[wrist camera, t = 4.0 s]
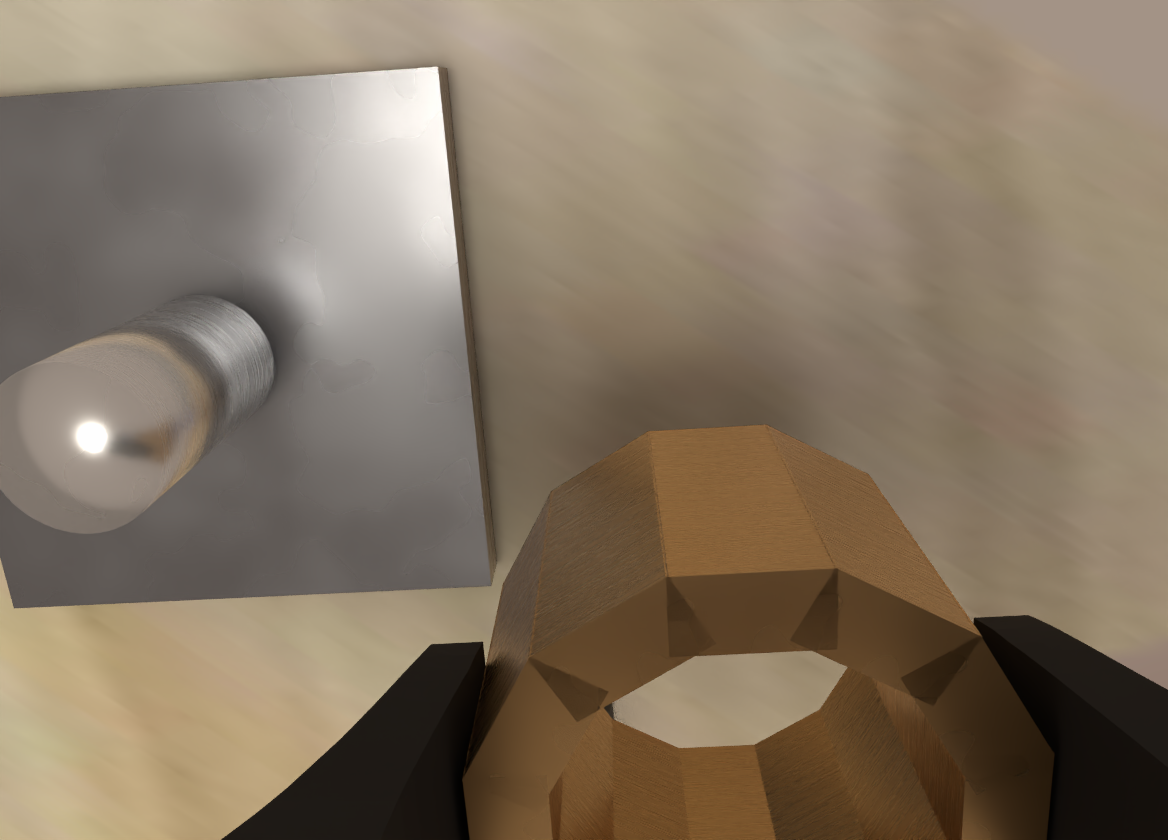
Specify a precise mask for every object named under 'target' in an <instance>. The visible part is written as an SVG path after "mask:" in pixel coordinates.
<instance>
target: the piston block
mask: <svg viewBox="0 0 1168 840" xmlns="http://www.w3.org/2000/svg"><path fill="white" fill-rule="evenodd" d="M0 558H1V562H2V565H3V569H4V573H5V577H6V580H7V584H8V588H9V591H10V595H11V599H12V603H13V606H14V608H31V607H52V606H74V605H95V604H116V603H138V602H159V601H180V600H202V599H223V598H244V597H266V596H287V595H308V594H330V593H351V592H372V591H394V590H415V589H437V588H458V587H479V586H491V585H492V581H493V577H494V573H495V569H496V565H497V563H496V553H495V543H494V533H493V523H492V513H491V503H490V493H489V483H488V474H487V464H486V454H485V444H484V434H483V424H482V414H481V404H480V394H479V384H478V374H477V364H476V354H475V344H474V334H473V324H472V314H471V305H470V295H469V285H468V275H467V265H466V255H465V245H464V235H463V225H462V215H461V205H460V195H459V185H458V175H457V165H456V155H455V145H454V136H453V126H452V116H451V106H450V96H449V86H448V76H447V68H442V67H427V68H413V69H398V70H384V71H370V72H355V73H341V74H327V75H312V76H298V77H284V78H269V79H255V80H241V81H226V82H212V83H197V84H183V85H169V86H154V87H140V88H126V89H111V90H97V91H83V92H68V93H54V94H40V95H25V96H11V97H0Z"/></svg>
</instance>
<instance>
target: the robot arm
mask: <svg viewBox="0 0 1168 840" xmlns="http://www.w3.org/2000/svg"><path fill="white" fill-rule="evenodd" d="M974 626H975V627H976V628H977V630H978V631H979V633H980V634H981V636H982V639H983V640H984V642H985V643H986V645H987V647H988V648H989V650H990V651H991V653H992V655H993V656H994V658H995V660H996V661H997V663H998V664H999V666H1000V668H1001V669H1002V671H1003V672H1004V674H1005V676H1006V677H1007V679H1008V680H1009V682H1010V684H1011V685H1012V687H1013V689H1014V690H1015V692H1016V693H1017V695H1018V697H1019V698H1020V700H1021V701H1022V703H1023V705H1024V706H1025V708H1026V710H1027V711H1028V713H1029V714H1030V716H1031V718H1032V719H1033V721H1034V722H1035V724H1036V726H1037V727H1038V729H1039V731H1040V732H1041V734H1042V735H1043V737H1044V739H1045V740H1046V742H1047V743H1048V745H1049V746H1050V748H1051V749H1052V750H1053V752H1054V755H1055V756H1054V764H1053V775H1052V786H1051V797H1050V808H1049V818H1048V829H1047V840H1168V690H1167V689H1165V688H1164V687H1161V686H1160V685H1158V684H1156V683H1154V682H1152V681H1150V680H1149V679H1147V678H1145V677H1143V676H1142V675H1140V674H1138V673H1136V672H1134V671H1133V670H1131V669H1129V668H1127V667H1126V666H1124V665H1122V664H1120V663H1118V662H1117V661H1115V660H1113V659H1111V658H1109V657H1108V656H1106V655H1104V654H1102V653H1101V652H1099V651H1097V650H1095V649H1093V648H1092V647H1090V646H1088V645H1086V644H1084V643H1083V642H1081V641H1079V640H1077V639H1075V638H1073V637H1072V636H1070V635H1068V634H1066V633H1064V632H1062V631H1060V630H1058V629H1057V628H1055V627H1053V626H1051V625H1049V624H1047V623H1045V622H1043V621H1040V620H1038V619H1036V618H1034V617H1031V616H1029V615H1023V616H1003V617H982V618H974ZM485 668H486V666H485V657H484V648H483V642H471V643H450V644H431V645H430V646H429V647H428V648H427V649H426V650H425V651H424V652H423V653H422V654H421V655H420V656H419V658H418V659H417V660H416V661H415V662H414V663H413V664H412V665H411V666H410V667H409V668H408V669H407V670H406V671H405V672H404V673H403V674H402V675H401V677H400V678H399V679H398V680H397V681H396V682H395V683H394V684H393V685H392V686H391V687H390V688H389V689H388V691H387V692H386V693H385V694H384V695H383V696H382V697H381V698H380V699H379V700H378V701H377V702H376V703H375V704H374V705H373V707H372V708H371V709H370V710H369V711H368V712H367V713H366V714H365V715H364V716H363V717H362V718H361V719H360V720H359V721H358V722H357V723H356V724H355V725H354V726H353V727H352V728H351V729H350V730H349V731H348V732H347V733H346V734H345V735H344V736H343V737H342V738H341V739H340V740H339V741H338V742H337V743H336V744H335V745H334V746H333V747H331V748H330V749H329V750H328V751H327V752H326V753H325V754H324V755H323V756H322V757H320V758H319V759H318V760H317V761H316V762H315V763H314V764H313V765H312V766H311V767H310V768H308V769H307V770H306V771H305V772H304V773H303V774H302V775H301V776H300V777H299V778H297V779H296V780H295V781H294V782H293V783H292V784H291V785H290V786H289V787H288V788H286V789H285V790H284V791H283V792H282V793H280V794H279V795H278V796H277V797H276V798H275V799H273V800H272V801H271V802H270V803H268V804H267V805H266V806H265V807H263V808H262V809H261V810H260V811H258V812H257V813H256V814H255V815H253V816H252V817H251V818H249V819H248V820H247V821H245V822H244V823H243V824H241V825H240V826H239V827H237V828H236V829H235V830H233V831H232V832H231V833H229V834H228V835H227V836H225V837H224V838H223V839H221V840H470V837H469V829H468V821H467V813H466V805H465V797H464V789H463V781H462V778H463V773H464V768H465V764H466V759H467V754H468V749H469V744H470V740H471V735H472V730H473V725H474V721H475V716H476V711H477V706H478V701H479V697H480V692H481V687H482V682H483V678H484V673H485Z"/></svg>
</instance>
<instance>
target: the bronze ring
mask: <svg viewBox="0 0 1168 840" xmlns="http://www.w3.org/2000/svg"><path fill="white" fill-rule="evenodd" d="M791 651H814V652H816V653H818V654H820V655H823V656H825V657H827V658H829V659H831V660H834V661H836V662H838V663H840V664H842V665H844V666H847V667H848V668H847V669H846V671H845V672H844V674H843V675H842V677H841V678H840V680H839V681H838V683H837V684H836V686H835V687H834V689H833V690H832V692H831V693H830V695H829V697H828V698H827V700H826V701H825V703H824V704H823V706H822V707H821V709H820V710H818V711H817V712H815V713H813V714H811V715H809V716H807V717H805V718H803V719H802V720H800V721H798V722H796V723H794V724H792V725H790V726H789V727H787V728H785V729H783V730H781V731H779V732H777V733H776V734H774V735H772V736H770V737H768V738H766V739H764V740H763V741H761V742H759V743H757V744H755V745H743V746H720V747H697V748H677V747H675V746H673V745H671V744H668V743H666V742H664V741H661V740H659V739H657V738H654V737H652V736H650V735H648V734H645V733H643V732H641V731H638V730H636V729H634V728H632V727H629V726H627V725H625V724H622V723H620V722H618V721H615V720H613V719H612V718H611V717H610V715H609V714H608V713H607V711H606V710H605V709H604V707H605V706H607V705H609V704H611V703H612V702H614V701H616V700H618V699H619V698H621V697H623V696H625V695H627V694H628V693H630V692H632V691H634V690H635V689H637V688H639V687H641V686H643V685H644V684H646V683H648V682H650V681H651V680H653V679H655V678H657V677H658V676H660V675H662V674H664V673H666V672H667V671H669V670H671V669H673V668H674V667H676V666H678V665H680V664H682V663H683V662H685V661H687V660H689V659H690V658H692V657H694V656H707V655H728V654H749V653H770V652H791ZM1054 756H1055V755H1054V752H1053V750H1052V749H1051V748H1050V746H1049V745H1048V743H1047V742H1046V740H1045V739H1044V737H1043V735H1042V734H1041V732H1040V731H1039V729H1038V727H1037V726H1036V724H1035V722H1034V721H1033V719H1032V718H1031V716H1030V714H1029V713H1028V711H1027V710H1026V708H1025V706H1024V705H1023V703H1022V701H1021V700H1020V698H1019V697H1018V695H1017V693H1016V692H1015V690H1014V689H1013V687H1012V685H1011V684H1010V682H1009V680H1008V679H1007V677H1006V676H1005V674H1004V672H1003V671H1002V669H1001V668H1000V666H999V664H998V663H997V661H996V660H995V658H994V656H993V655H992V653H991V651H990V650H989V648H988V647H987V645H986V643H985V642H984V640H983V639H982V636H981V634H980V633H979V631H978V630H977V628H976V627H975V626H974V624H973V623H972V621H971V620H970V618H969V617H968V616H967V614H966V613H965V611H964V610H963V608H962V607H961V606H960V604H959V603H958V601H957V600H956V598H955V597H954V596H953V594H952V593H951V591H950V590H949V588H948V587H947V586H946V584H945V583H944V581H943V580H942V578H941V577H940V576H939V574H938V573H937V571H936V570H935V568H934V567H933V566H932V564H931V563H930V561H929V560H928V558H927V557H926V556H925V554H924V553H923V551H922V550H921V548H920V547H919V546H918V544H917V543H916V541H915V540H914V538H913V537H912V536H911V534H910V533H909V531H908V530H907V528H906V527H905V526H904V524H903V523H902V521H901V520H900V518H899V517H898V516H897V514H896V513H895V511H894V510H893V508H892V507H891V506H890V504H889V503H888V501H887V500H886V498H885V497H884V496H883V494H882V493H881V491H880V490H879V488H878V487H877V486H876V484H875V483H874V481H873V480H872V478H871V477H870V476H869V474H867V473H865V472H863V471H861V470H858V469H856V468H854V467H852V466H850V465H848V464H846V463H844V462H842V461H840V460H838V459H836V458H834V457H832V456H830V455H828V454H825V453H823V452H821V451H819V450H817V449H815V448H813V447H811V446H809V445H807V444H805V443H803V442H801V441H799V440H797V439H795V438H792V437H790V436H788V435H786V434H784V433H782V432H780V431H778V430H776V429H774V428H772V427H770V426H768V425H766V424H765V425H751V426H734V427H716V428H698V429H681V430H663V431H647V432H646V433H645V434H643V435H641V436H640V437H638V438H637V439H635V440H633V441H632V442H630V443H629V444H627V445H625V446H624V447H622V448H621V449H619V450H617V451H616V452H614V453H612V454H611V455H609V456H608V457H606V458H604V459H603V460H601V461H600V462H598V463H596V464H595V465H593V466H591V467H590V468H588V469H587V470H585V471H583V472H582V473H580V474H579V475H577V476H575V477H574V478H572V479H570V480H569V481H567V482H566V483H564V484H562V485H561V486H559V487H558V488H556V489H554V490H553V491H551V492H550V495H549V497H548V499H547V501H546V503H545V505H544V507H543V508H542V510H541V512H540V514H539V516H538V518H537V520H536V522H535V524H534V526H533V528H532V530H531V532H530V534H529V535H528V537H527V539H526V541H525V543H524V545H523V547H522V549H521V551H520V553H519V555H518V557H517V559H516V560H515V562H514V564H513V566H512V568H511V570H510V572H509V574H508V576H507V578H506V580H505V582H504V583H503V587H502V591H501V596H500V601H499V606H498V611H497V615H496V620H495V625H494V630H493V634H492V639H491V644H490V649H489V654H488V658H487V663H486V668H485V673H484V678H483V682H482V687H481V692H480V697H479V701H478V706H477V711H476V716H475V721H474V725H473V730H472V735H471V740H470V744H469V749H468V754H467V759H466V764H465V768H464V773H463V778H462V781H463V789H464V797H465V805H466V813H467V821H468V829H469V837H470V840H1047V829H1048V818H1049V808H1050V797H1051V786H1052V775H1053V764H1054Z"/></svg>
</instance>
